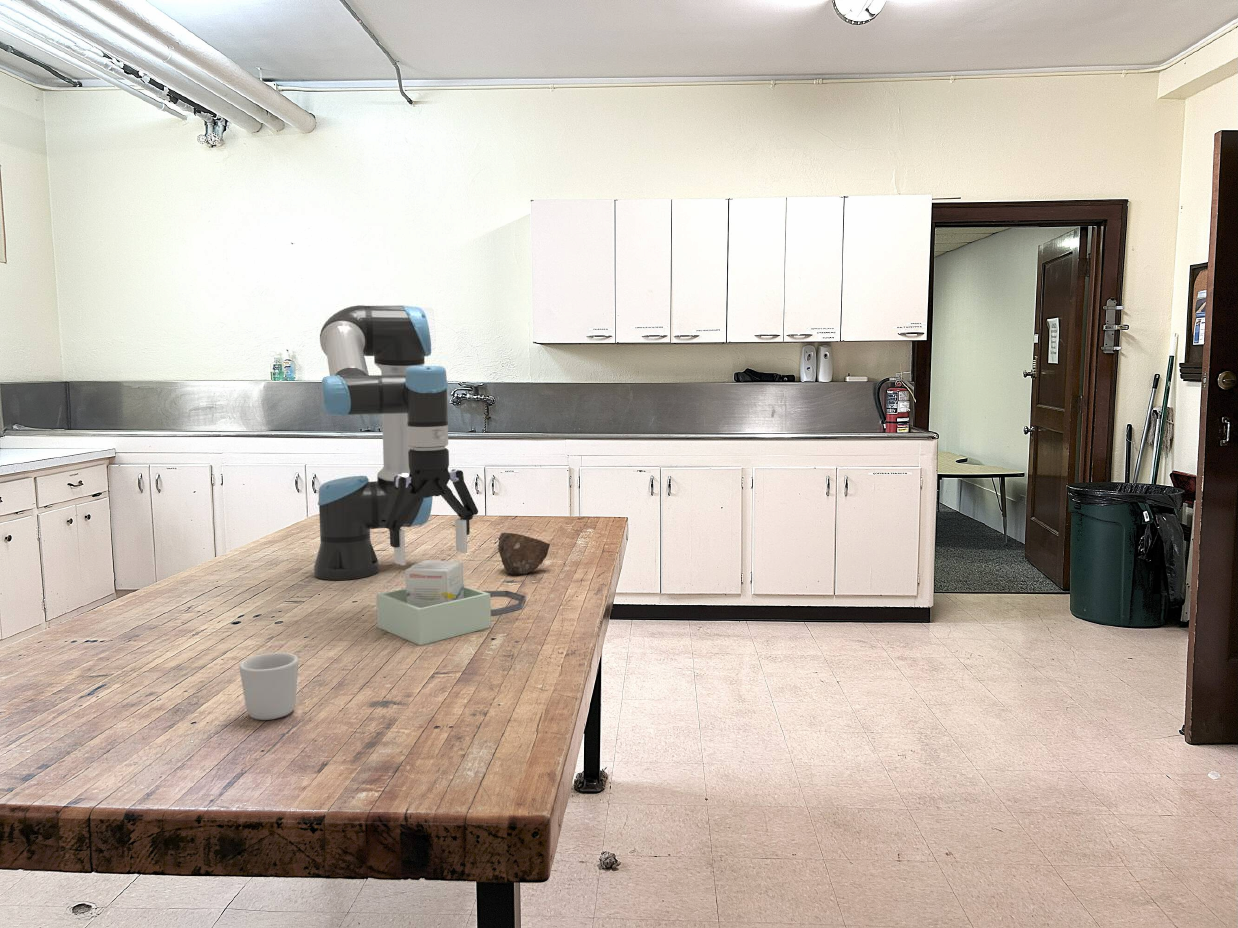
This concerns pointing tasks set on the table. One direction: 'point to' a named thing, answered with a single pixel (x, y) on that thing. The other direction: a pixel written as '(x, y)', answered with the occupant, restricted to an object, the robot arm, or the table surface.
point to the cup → (269, 684)
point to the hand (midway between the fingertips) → (431, 557)
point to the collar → (508, 608)
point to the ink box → (434, 583)
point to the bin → (433, 616)
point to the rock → (521, 553)
